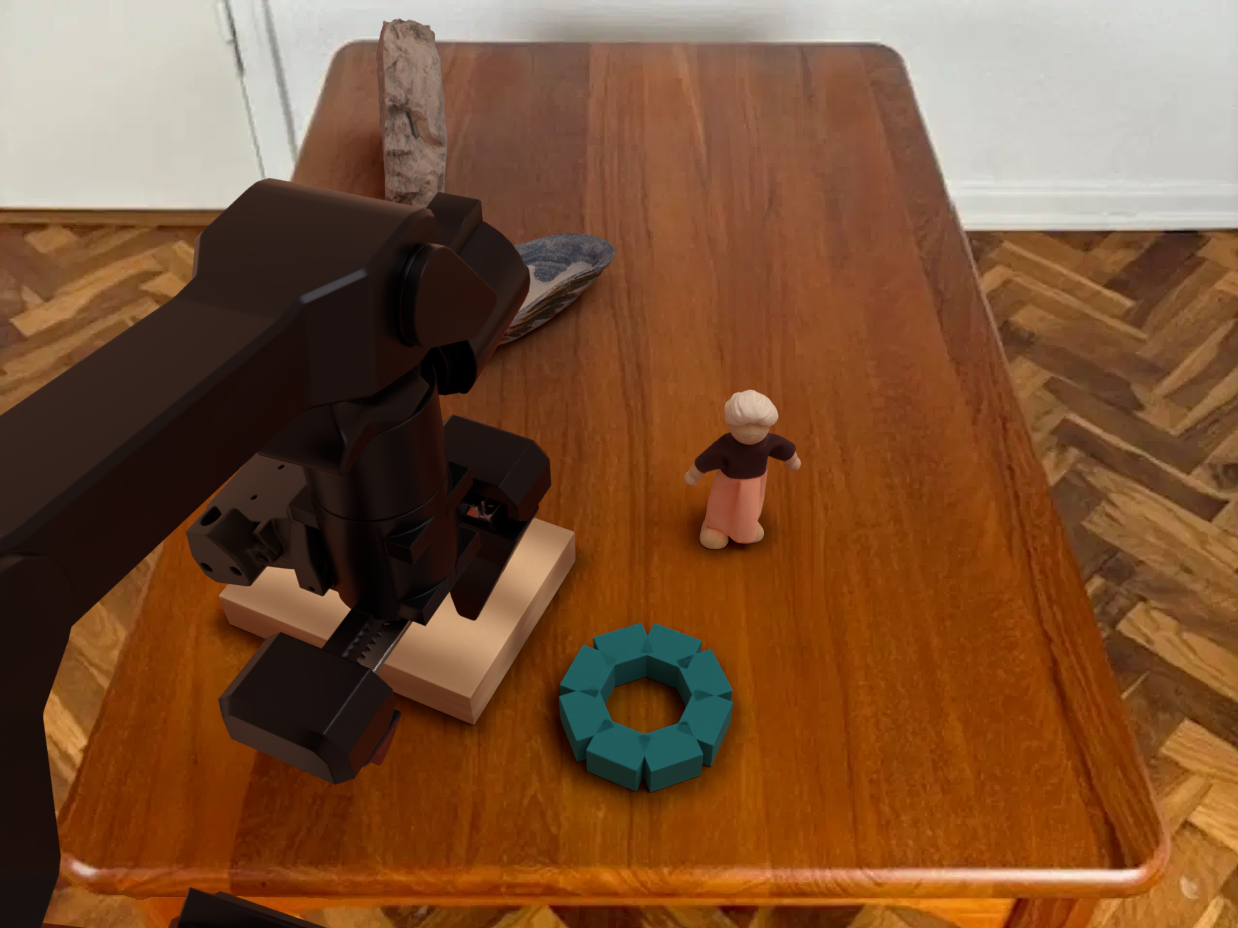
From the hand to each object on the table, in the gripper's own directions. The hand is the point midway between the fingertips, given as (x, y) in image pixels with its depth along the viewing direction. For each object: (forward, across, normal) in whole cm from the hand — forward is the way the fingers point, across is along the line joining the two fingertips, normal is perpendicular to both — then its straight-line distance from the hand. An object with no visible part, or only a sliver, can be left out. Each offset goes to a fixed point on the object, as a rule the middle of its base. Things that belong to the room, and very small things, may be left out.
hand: (422, 684), depth 59 cm
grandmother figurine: (+12, -26, +8) cm, 30 cm away
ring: (+12, -10, +8) cm, 17 cm away
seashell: (+12, -41, -15) cm, 45 cm away
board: (+12, -12, -10) cm, 20 cm away
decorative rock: (+12, -54, -34) cm, 65 cm away
